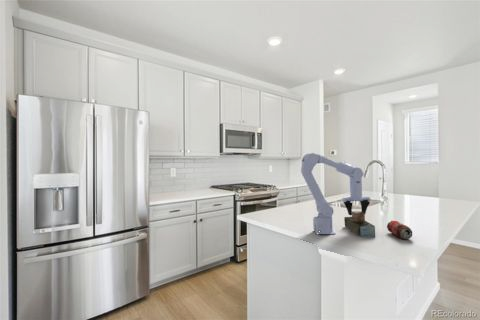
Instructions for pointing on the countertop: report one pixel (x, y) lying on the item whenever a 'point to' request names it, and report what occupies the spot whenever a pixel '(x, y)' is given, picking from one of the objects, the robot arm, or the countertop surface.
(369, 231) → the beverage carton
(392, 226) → the beverage can
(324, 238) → the countertop surface
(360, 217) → the walnut block
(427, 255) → the countertop surface
